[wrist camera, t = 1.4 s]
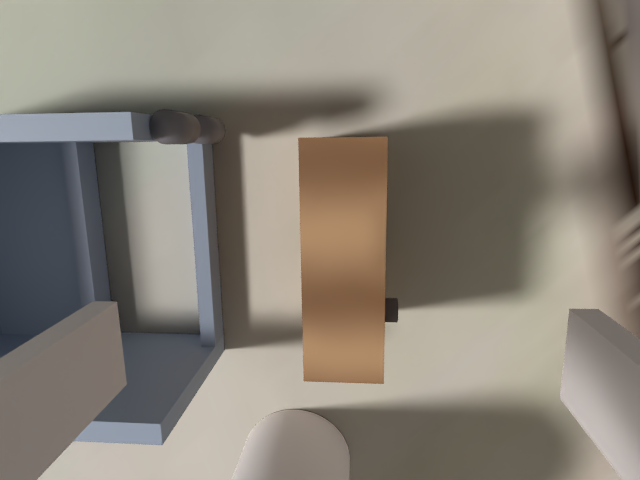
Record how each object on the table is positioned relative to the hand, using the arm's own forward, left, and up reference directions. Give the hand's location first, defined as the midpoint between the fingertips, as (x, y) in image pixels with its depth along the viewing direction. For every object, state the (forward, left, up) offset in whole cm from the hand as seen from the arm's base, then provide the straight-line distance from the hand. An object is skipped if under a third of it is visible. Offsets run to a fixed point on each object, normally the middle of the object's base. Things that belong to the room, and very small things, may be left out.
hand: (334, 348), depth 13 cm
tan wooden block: (0, 0, -19) cm, 19 cm away
